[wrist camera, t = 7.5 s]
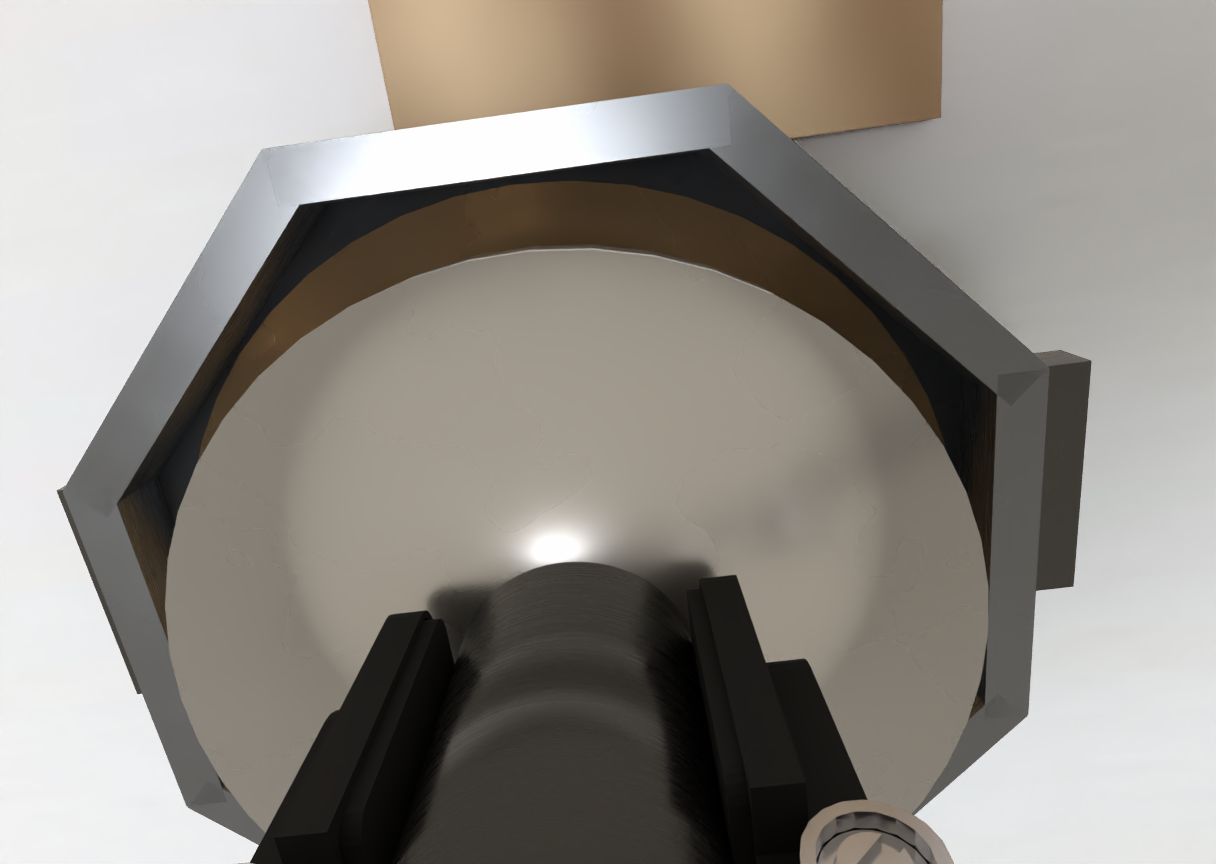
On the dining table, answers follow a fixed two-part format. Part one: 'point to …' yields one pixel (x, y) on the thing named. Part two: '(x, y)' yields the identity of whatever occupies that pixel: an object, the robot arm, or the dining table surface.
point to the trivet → (663, 57)
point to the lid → (573, 549)
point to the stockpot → (576, 215)
